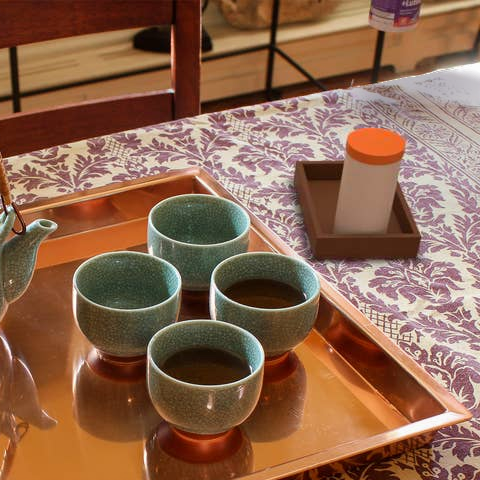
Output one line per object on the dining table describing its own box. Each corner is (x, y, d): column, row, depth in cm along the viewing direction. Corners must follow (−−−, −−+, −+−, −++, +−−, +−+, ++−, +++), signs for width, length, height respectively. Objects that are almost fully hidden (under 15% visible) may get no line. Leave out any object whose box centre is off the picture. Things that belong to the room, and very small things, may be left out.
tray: (293, 181, 99) (295, 160, 98) (385, 180, 99) (389, 159, 98) (313, 259, 89) (317, 237, 87) (416, 258, 89) (421, 236, 87)
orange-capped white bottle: (380, 219, 93) (398, 127, 86) (391, 249, 89) (412, 155, 82) (327, 219, 93) (342, 127, 86) (336, 249, 89) (352, 155, 82)
